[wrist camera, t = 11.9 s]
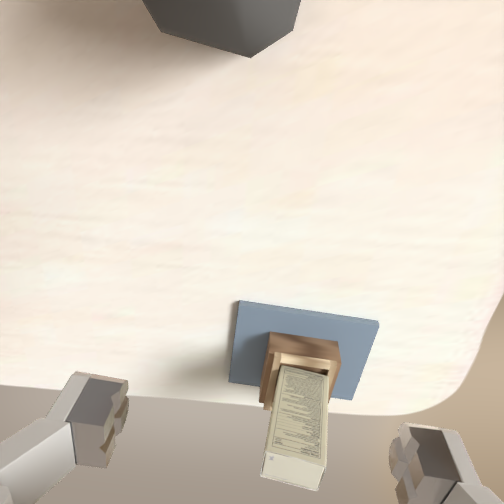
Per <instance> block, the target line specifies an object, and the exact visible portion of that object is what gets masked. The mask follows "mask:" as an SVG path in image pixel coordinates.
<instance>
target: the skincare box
mask: <svg viewBox="0 0 504 504" xmlns="http://www.w3.org/2000/svg"><path fill="white" fill-rule="evenodd" d="M328 392H329V377H328V376H325V375H321V374H318V373H314V372H310V371H305V370H301V369H298V368H293V367H288V366H284V365H281V367H280V371H279V375H278V380H277V385H276V390H275V395H274V400H273V406H272V411H271V417H270V422H269V428H268V434H267V439H266V444H265V451H264V455H263V461H262V467H261V473H260V475H261V476H262V477H265V478H269V479H272V480H276V481H280V482H284V483H287V484H291V485H295V486H298V487H302V488H306V489H310V490H314V491H318V488H319V486H320V483H321V481H322V478H323V476H324V473H325V471H326V463H327V426H328Z"/></svg>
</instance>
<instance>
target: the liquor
mask: <svg viewBox="0 0 504 504" xmlns="http://www.w3.org/2000/svg"><path fill="white" fill-rule="evenodd" d="M142 1H143V3H144V4H145V6H146V8H147V9H148V11H149V13H150V14H151V16H152V18H153V19H154V21H155V23H156V24H157V26H158V28H159V29H160V31H161V32H164V33H167V34H170V35H174V36H177V37H181V38H184V39H187V40H191V41H194V42H198V43H201V44H204V45H208V46H211V47H215V48H218V49H221V50H225V51H228V52H232V53H235V54H238V55H242V56H245V57H249V58H251V57H253V56H254V55H256V54H257V53H259V52H261V51H262V50H264V49H265V48H267V47H268V46H270V45H271V44H273V43H274V42H276V41H277V40H279V39H280V38H282V37H284V36H285V35H287V34H288V33H290V32H291V31H293V28H294V24H295V20H296V16H297V13H298V9H299V5H300V2H301V0H142Z"/></svg>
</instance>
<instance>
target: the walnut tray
mask: <svg viewBox="0 0 504 504" xmlns="http://www.w3.org/2000/svg"><path fill="white" fill-rule="evenodd" d="M341 364H342V363H341V357H340V351H339V345H338V341H332V340H325V339H318V338H312V337H305V336H298V335H291V334H285V333H278V332H271V331H270V334H269V339H268V344H267V349H266V355H265V360H264V365H263V370H262V375H261V382H260V395H259V402H260V403H264V410H269V411H272V406H273V400H274V395H275V390H276V385H277V380H278V375H279V371H280V367H281V365H284V366H288V367H293V368H298V369H301V370H305V371H310V372H314V373H318V374H321V375H325V376H328V377H329V392H328V403H329V400H330V397H331V394H332V391H333V388H334V385H335V382H336V379H337V376H338V373H339V370H340V367H341Z"/></svg>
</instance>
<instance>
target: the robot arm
mask: <svg viewBox="0 0 504 504" xmlns="http://www.w3.org/2000/svg"><path fill="white" fill-rule="evenodd" d="M127 391H128V381H127V380H123V379H117V378H112V377H107V376H101V375H96V374H89V373H83V372H77V371H76V372H75V373H74V374H73V375H71V377H70V378H69V380H68V382H67V383H66V385H65V387H64V388H63V390H62V391H61V393H60V395H59V396H58V398H57V399H56V401H55V403H54V405H53V406H52V408H51V409H50V411H49V412H48V414H47V416H46V417H45V418H44V419H43V418H38V419H37V420H35V421H34V422H32V423H31V424H29V425H28V426H26V427H24V428H23V429H21V430H20V431H18V432H16V433H15V434H13V435H12V436H10V437H8V438H7V439H5V440H4V441H2V442H0V504H35V503H36V502H37V501H38V500H39V499H40V498H42V497H43V496H44V495H45V494H46V493H47V492H48V491H49V490H50V489H52V488H53V487H54V486H55V485H56V484H57V483H58V482H59V481H60V480H62V479H63V477H65V476H66V475H67V474H68V473H69V472H70V471H72V470H73V469H74V468H75V467H76V465H84V466H91V467H99V468H107V466H108V464H109V461H110V459H111V456H112V454H113V451H114V449H115V446H116V445H115V444H116V443H115V436H117V435H118V434H119V433H121V431H122V429H123V427H124V424H125V421H126V417H127V413H128V407H129V399H128V398H127V396H126V393H127ZM398 432H399V437H397V438H395V439H394V440H393V441H392V443H391V446H390V450H389V465H390V469H391V473H392V475H393V476H394V477H395V478H396V479H397V481H398V485H397V486H396V489H395V490H396V494H397V498H398V502H399V504H504V503H503V502H502V501H501V500H500V499H499V498H498V497H497V496H496V495H495V494H494V493H493V492H492V491H491V490H490V489H489V488H488V487H486V486H482V484H481V482H480V480H479V477H478V475H477V473H476V471H475V468H474V467H473V464H472V462H471V459H470V457H469V455H468V453H467V450H466V448H465V446H464V444H463V441H462V439H461V437H460V435H459V433H458V432H457V431H456V430H450V429H444V428H437V427H433V426H427V425H419V424H411V423H403V424H401V425H400V427H399V429H398Z"/></svg>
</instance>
